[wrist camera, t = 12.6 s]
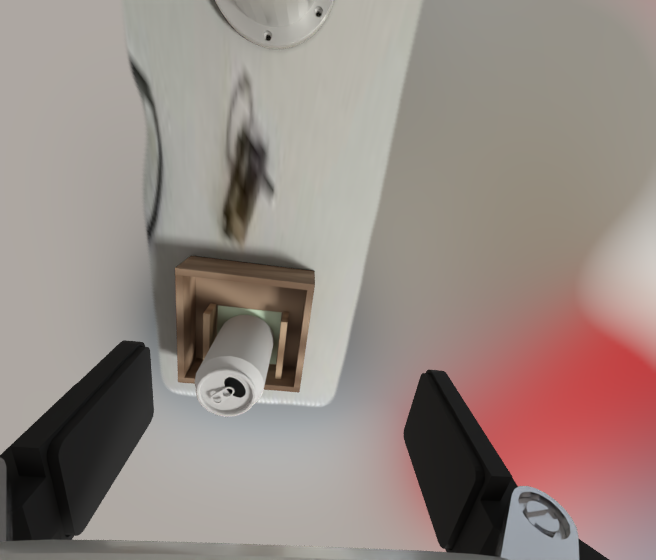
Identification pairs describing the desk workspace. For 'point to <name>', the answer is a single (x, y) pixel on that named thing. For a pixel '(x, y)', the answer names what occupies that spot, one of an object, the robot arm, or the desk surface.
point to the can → (235, 366)
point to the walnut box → (243, 312)
